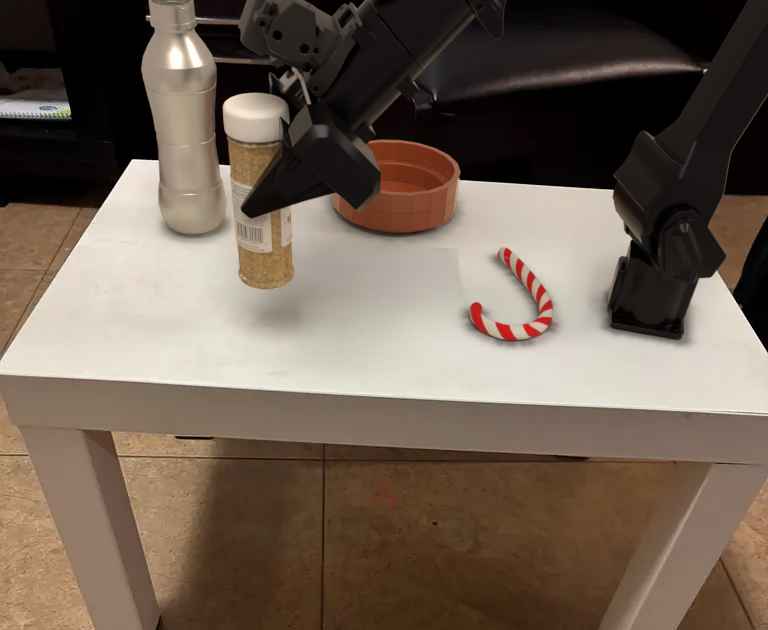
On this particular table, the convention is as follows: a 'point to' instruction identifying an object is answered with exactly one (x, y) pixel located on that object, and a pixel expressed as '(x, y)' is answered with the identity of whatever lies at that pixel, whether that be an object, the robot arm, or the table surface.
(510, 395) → the table surface
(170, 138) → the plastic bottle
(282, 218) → the sprinkles bottle
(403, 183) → the bowl
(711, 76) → the robot arm
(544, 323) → the candy cane
